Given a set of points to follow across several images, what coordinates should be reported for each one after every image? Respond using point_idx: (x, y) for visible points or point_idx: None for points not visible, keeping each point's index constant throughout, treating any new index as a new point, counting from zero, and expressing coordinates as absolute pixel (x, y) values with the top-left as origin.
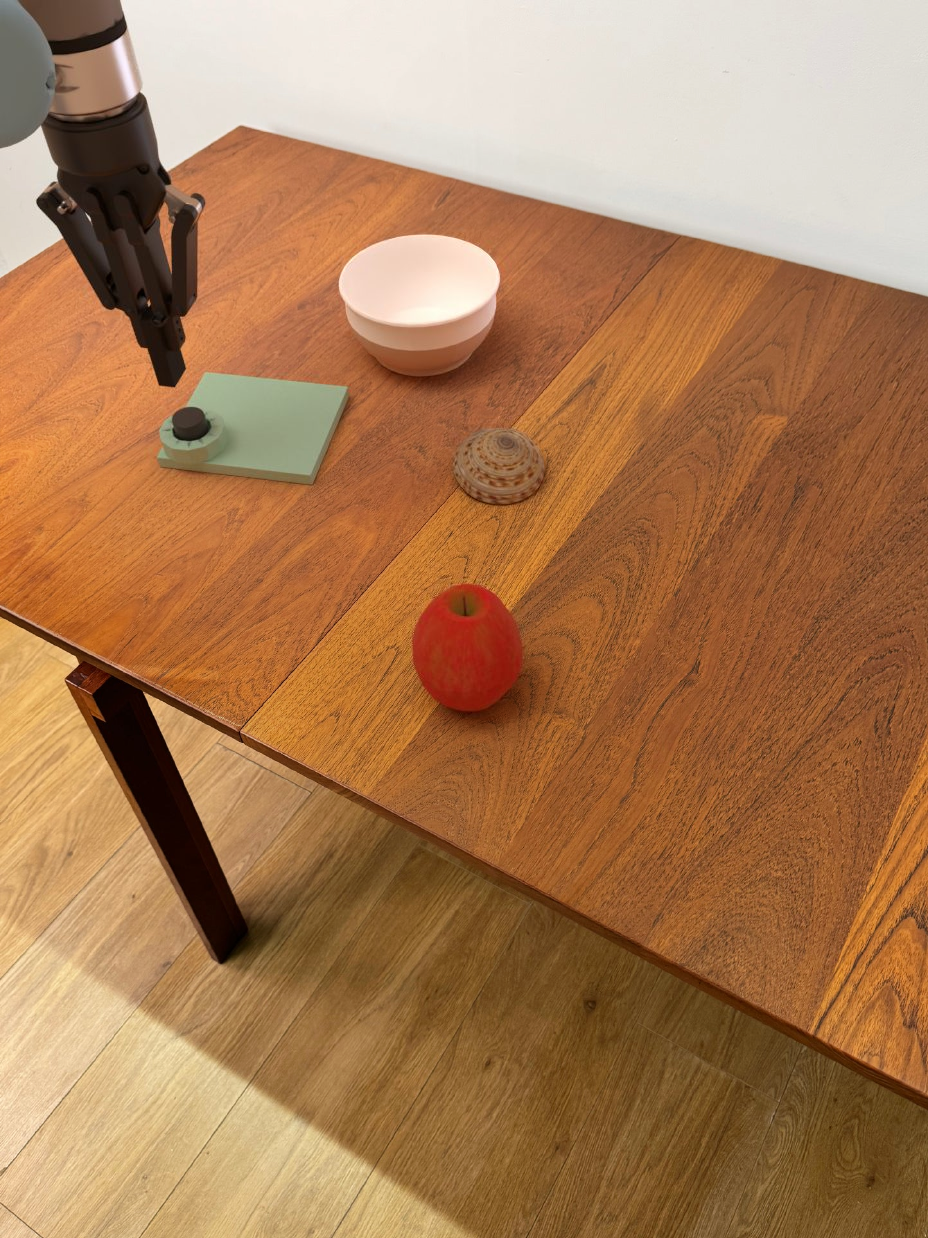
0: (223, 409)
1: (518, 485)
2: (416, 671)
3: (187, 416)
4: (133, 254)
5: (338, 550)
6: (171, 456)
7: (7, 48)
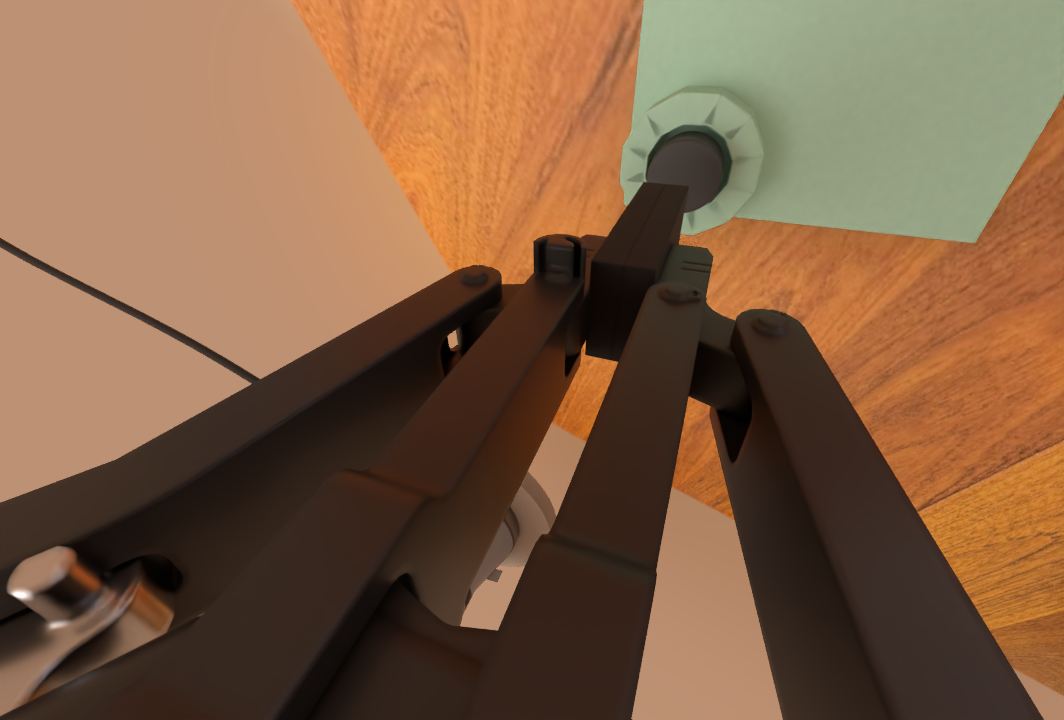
0: (739, 22)
1: None
2: None
3: (681, 178)
4: (511, 415)
5: (993, 385)
6: None
7: None
